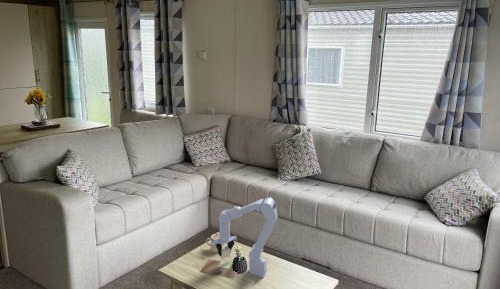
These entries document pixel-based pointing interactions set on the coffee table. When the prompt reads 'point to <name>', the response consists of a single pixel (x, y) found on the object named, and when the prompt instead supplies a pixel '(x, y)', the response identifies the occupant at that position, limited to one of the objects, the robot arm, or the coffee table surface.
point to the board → (213, 271)
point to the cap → (225, 252)
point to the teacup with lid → (213, 238)
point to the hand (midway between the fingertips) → (224, 254)
